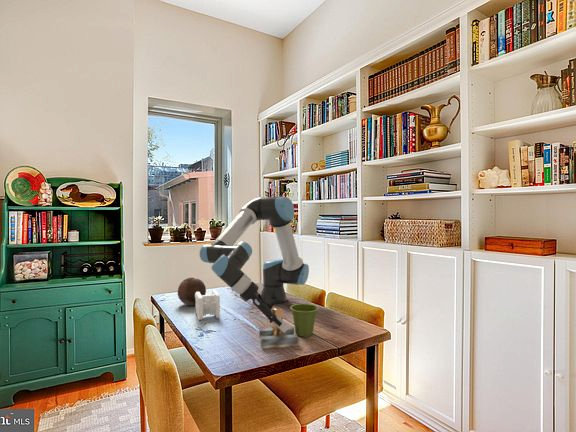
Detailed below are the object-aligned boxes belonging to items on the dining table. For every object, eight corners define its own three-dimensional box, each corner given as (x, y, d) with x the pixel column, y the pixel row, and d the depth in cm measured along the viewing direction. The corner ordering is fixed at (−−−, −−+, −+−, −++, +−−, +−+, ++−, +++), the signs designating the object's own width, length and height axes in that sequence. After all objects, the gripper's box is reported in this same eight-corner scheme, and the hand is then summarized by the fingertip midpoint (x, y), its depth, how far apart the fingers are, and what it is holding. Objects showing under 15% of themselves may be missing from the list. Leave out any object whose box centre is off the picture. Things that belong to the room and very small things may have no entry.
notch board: (261, 348, 131) (261, 339, 131) (259, 336, 143) (259, 328, 143) (297, 346, 133) (297, 337, 133) (292, 334, 145) (292, 326, 145)
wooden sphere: (210, 301, 198) (210, 275, 197) (199, 309, 183) (198, 281, 182) (185, 300, 200) (185, 274, 200) (172, 308, 185) (172, 280, 185)
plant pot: (297, 341, 138) (297, 313, 138) (285, 331, 149) (285, 305, 149) (323, 336, 143) (323, 309, 143) (310, 327, 154) (310, 302, 154)
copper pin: (276, 336, 141) (276, 306, 141) (284, 338, 139) (284, 308, 138) (270, 339, 138) (270, 309, 137) (278, 341, 135) (278, 310, 135)
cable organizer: (220, 319, 165) (220, 295, 165) (197, 322, 162) (197, 297, 162) (215, 311, 180) (215, 288, 179) (194, 313, 176) (194, 290, 176)
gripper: (238, 287, 147) (274, 321, 150) (238, 303, 124) (281, 343, 126) (250, 275, 148) (286, 308, 151) (253, 287, 124) (296, 327, 127)
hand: (284, 324), depth 138 cm, fingers open, 12 cm apart
